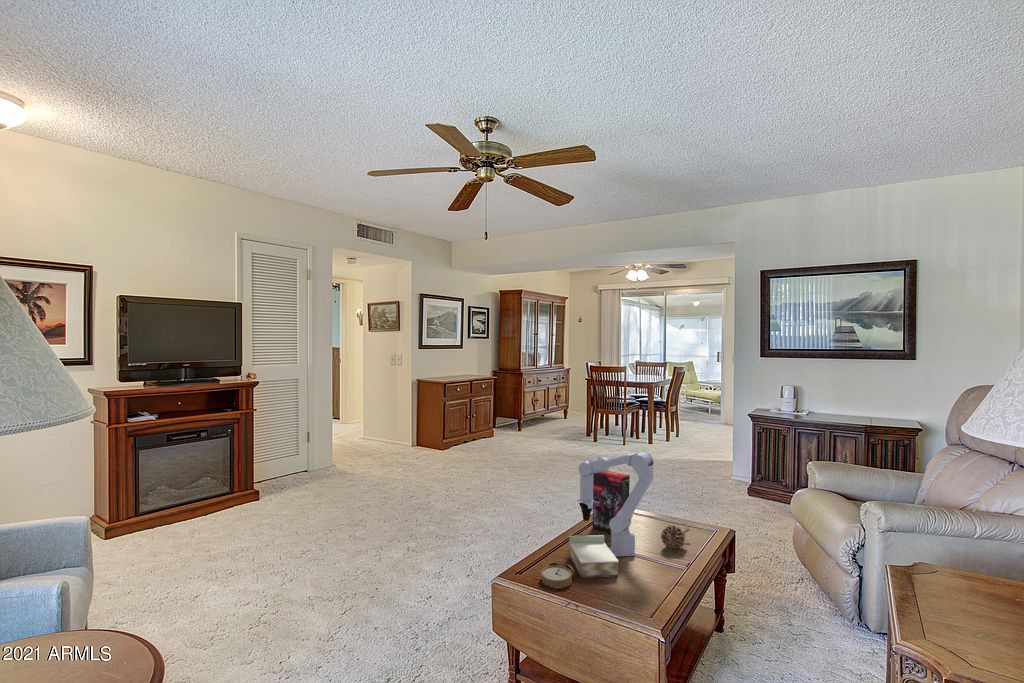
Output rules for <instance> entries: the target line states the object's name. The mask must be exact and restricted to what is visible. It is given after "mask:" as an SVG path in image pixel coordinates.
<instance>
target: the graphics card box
mask: <svg viewBox="0 0 1024 683" xmlns="http://www.w3.org/2000/svg"><path fill="white" fill-rule="evenodd" d="M630 477H631V476H630V474H629V475H628V474H623V473H619V472H615V471H611V470H607V471H603V472H598V473H594V475H593V499H594V501H593V506H594V508H593V509H592V526H591V527H592V528H594V529H597V530H600V531H603V532H606V533H609V534H611V529H610V527H609V522H610V520H611V519H612V518H614V517H615V516H616V515H617V513H618V512H619V511H620V510H621V508H622V507H623V505H624V503H625V502H626V500H627V498H628V497H629V495H630ZM628 529H629V530H630V526H629V527H628Z"/></svg>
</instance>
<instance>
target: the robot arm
mask: <svg viewBox="0 0 1024 683" xmlns="http://www.w3.org/2000/svg"><path fill="white" fill-rule="evenodd" d="M654 463H655V461H654V459H653V456H652V454H650V452H647V451H646V450H645V451H641V452H639V451H637V452H631V453H630V452H629V453H627V454H625V453H624V454H621V455H618V456H615V457H611V458H608V457H605V456H602V455H601V456H598V457H597V458H595V459H592V458H591V459H588V460H586V461H584V462H581V463H580V464H579V465H578V468H577V469H578V473H579V474H580V479H579V480H580V481H579V483H580V484H579V498H577V499H576V500H577V502H579V503H578V504H579V506H580V509H581V515H582V519H583V521H584V522H589V521H590V517H591V513H592V512H593V508H594V506H593V501H594V499H593V475H594V473H598V472H603V471H610V470H609V469H610V468H611V467H615V466H620V465H624V464H626V465H627V466H628V467H632V469H633V470H634V471H635V473H636V475H637V477H638V480H637V482H636V484H635V485H634V487H633V488H632V490H631V492H629V497H628V498H627V500H626V502H625V503H624V505H623V507H622V508H621V510H620V511H619V512H618V513H617V515H616V516H615V517H614V518H612V519H611V520H610V522H609V527H610V529H611V533H610V534H611V537H610V547H608V548H609V549H610V550H611V552H612V553H613V554H614V556H615V557H635V556H636V537H635V533H634V531H633V530H630V526H631V523H632V518H633V517H634V512H635V510H636V509H637V507H638V506H639V504H640V502H641V501H642V499H643V497H644V496H645V494H646V492H647V491H648V489H649V488H650V486H651V484H652V482H653V481H654ZM628 527H629V529H628Z"/></svg>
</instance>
